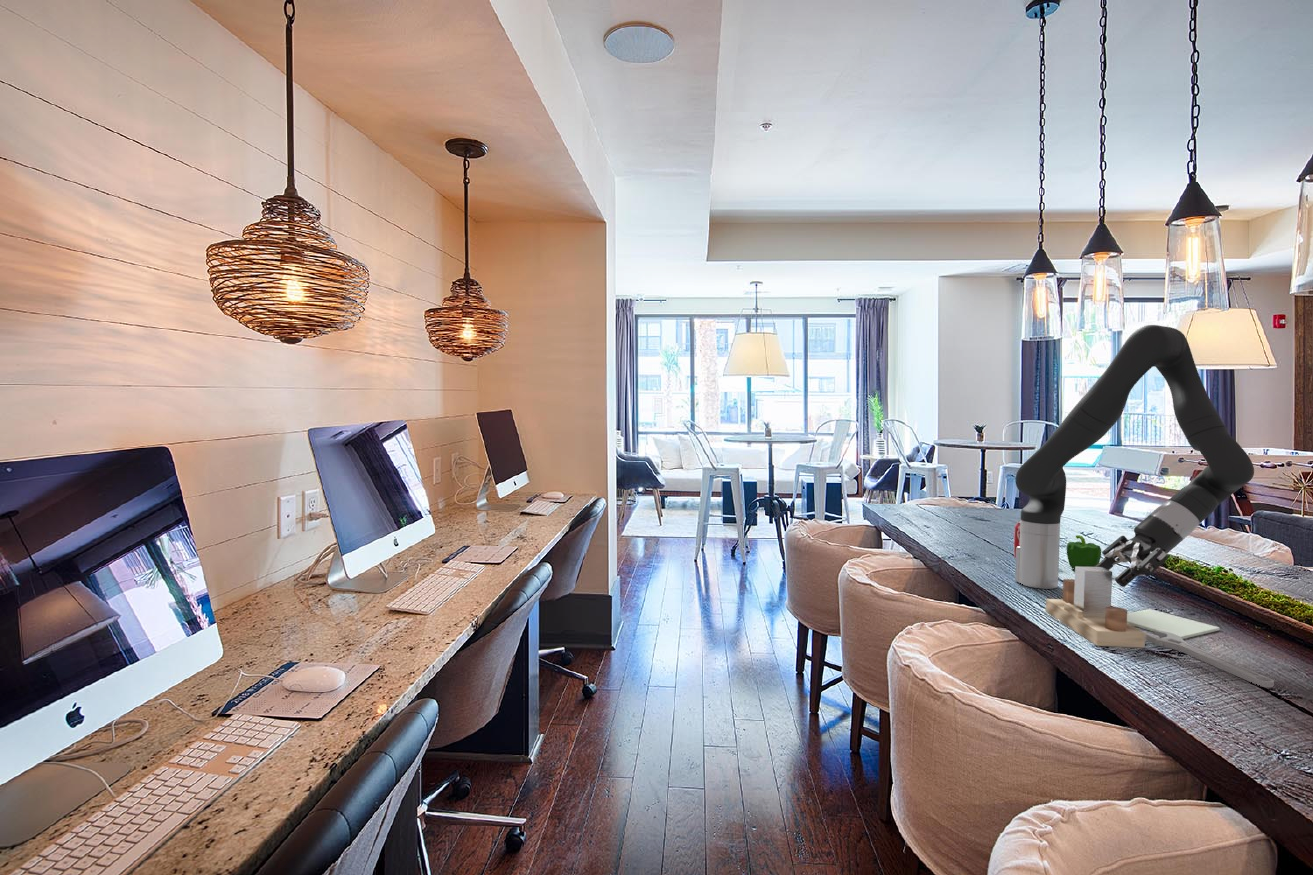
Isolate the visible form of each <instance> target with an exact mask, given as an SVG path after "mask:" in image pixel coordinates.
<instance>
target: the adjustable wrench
mask: <svg viewBox="0 0 1313 875" xmlns="http://www.w3.org/2000/svg"><path fill="white" fill-rule="evenodd" d="M1145 641H1147V642H1148V643H1150V644H1153V645H1154V646H1156V647H1163V648H1167V649H1171V650H1175V651H1179V652H1181V653H1184V654H1186V655H1189V656H1191V657H1193V658H1194V659H1197V660H1200V661H1202V662H1204V663H1206V664H1208V665H1211V666H1213V667H1215V668H1218V669H1220V670H1222V671H1225V672H1226V673H1229V674H1231V675H1233V676H1236V677H1238V678H1240V679H1242V680H1245V681H1247V682H1248V683H1249V682H1250V683H1251V682H1252V684H1253V685H1256V684H1257V685H1256V686H1259V685H1260V686H1259V687H1263V688H1267V687H1273V686H1274V687H1275V680H1274V679H1272V678H1270V677H1268V676H1266V675H1262V674H1260V673H1258V672H1256V671H1253V670H1251V669H1249V668H1246V667H1243V666H1242V665H1239V664H1236V663H1235V662H1232V661H1230V660H1227V659H1225V658H1222V657H1220V656H1217V655H1215V654H1213V653H1210V652H1208V651H1205V650H1204V649H1203V650H1202V649H1201V648H1198V647H1196V646H1193V645H1191V644H1190V643H1188V642H1186V641H1185V639H1182V638H1181V637H1180V636H1178V635H1176V634H1173V633H1169V632H1164V631H1158V630H1154V632H1153V633H1149V632H1145ZM1274 687H1273V688H1274Z"/></svg>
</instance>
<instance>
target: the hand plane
mask: <svg viewBox="0 0 1313 875" xmlns="http://www.w3.org/2000/svg"><path fill="white" fill-rule="evenodd" d="M1074 587H1075V578H1073V579H1072V578H1071V579H1069V578H1063V579H1062V598H1060V599H1059V598H1045V612H1046V611H1047V612H1048V613H1047V612H1046V613H1047V614H1049V615H1050V614H1051V615H1050V616H1052V617H1053V618H1055V619H1056V618H1057V619H1056V620H1058V619H1059V620H1060V621H1059V620H1058V621H1059V622H1061V623H1062V624H1064V625H1065V626H1066V627H1068V626H1069V627H1068V628H1069V629H1071V630H1072V631H1073V632H1075V633H1077V634H1079V635H1080V636H1082V637H1083V638H1084V639H1086V640H1087V641H1089V642H1091V643H1092V644H1094V646H1096V647H1097V646H1099V647H1116V648H1117V647H1120V648H1121V647H1122V648H1146V639H1145V633H1146V632H1144V631H1143V630H1141V629H1139V627H1136V626H1132V625H1130V624H1129V623H1127V613H1128V610H1127V609H1125V608H1123V607H1117V606H1111V607H1106V614H1105V618H1097V617H1083V611H1081V610H1080V609H1078V608H1076V607H1075V606H1074Z"/></svg>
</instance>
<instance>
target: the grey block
mask: <svg viewBox="0 0 1313 875" xmlns="http://www.w3.org/2000/svg"><path fill="white" fill-rule="evenodd" d="M1074 580H1075V587H1074V606H1075V607H1076V608H1078V609H1080V610H1081V611H1083V617H1097V618H1105V614H1106V607H1112V591H1113V590H1112V589H1113V571H1112V570H1107V569H1105V568H1103V567H1079V566H1075V570H1074Z"/></svg>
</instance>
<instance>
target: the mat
mask: <svg viewBox="0 0 1313 875" xmlns="http://www.w3.org/2000/svg"><path fill="white" fill-rule="evenodd" d="M1127 623H1129V624H1130V625H1132V626H1134V627H1136V628H1138V629H1139V628H1140V629H1143V630H1146V631H1150V632H1153V633H1154V630H1158V631H1164V632H1169V633H1173V634H1176V635H1178V636H1180V637H1181V638H1182V639H1183V640H1185V639H1190V638H1193V637H1197V636H1202V635H1205V634H1211V633H1214V632H1217V631H1220V630H1221V629H1220V627H1219V626H1215V625H1211V624H1208V623H1204V622H1200V621H1197V620H1192V619H1190V618H1185V617H1181V616H1179V615H1174V614H1170V613H1166V612H1162V611H1158V610H1154V609H1151V608H1148V609H1147V608H1146V609H1143V610H1138V611H1132V612H1127Z"/></svg>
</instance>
